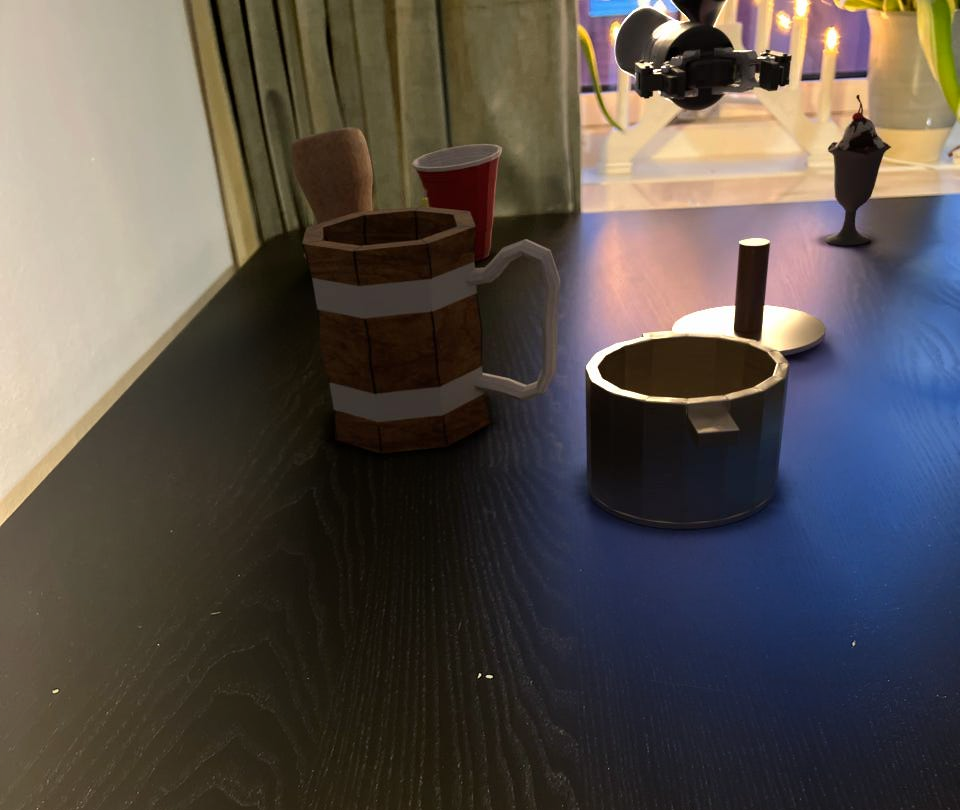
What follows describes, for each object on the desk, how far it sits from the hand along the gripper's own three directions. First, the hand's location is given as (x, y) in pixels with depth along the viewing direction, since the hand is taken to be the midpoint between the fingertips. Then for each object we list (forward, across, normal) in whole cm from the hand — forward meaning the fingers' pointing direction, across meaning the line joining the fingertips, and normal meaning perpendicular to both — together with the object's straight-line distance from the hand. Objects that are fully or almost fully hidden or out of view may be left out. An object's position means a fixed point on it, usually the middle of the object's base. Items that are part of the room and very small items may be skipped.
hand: (728, 81), depth 89 cm
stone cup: (-32, -40, +20) cm, 55 cm away
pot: (+40, -12, +20) cm, 46 cm away
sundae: (-19, +20, +20) cm, 34 cm away
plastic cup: (-27, -25, +20) cm, 42 cm away
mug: (+25, -28, +20) cm, 43 cm away
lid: (+12, 0, +19) cm, 23 cm away
